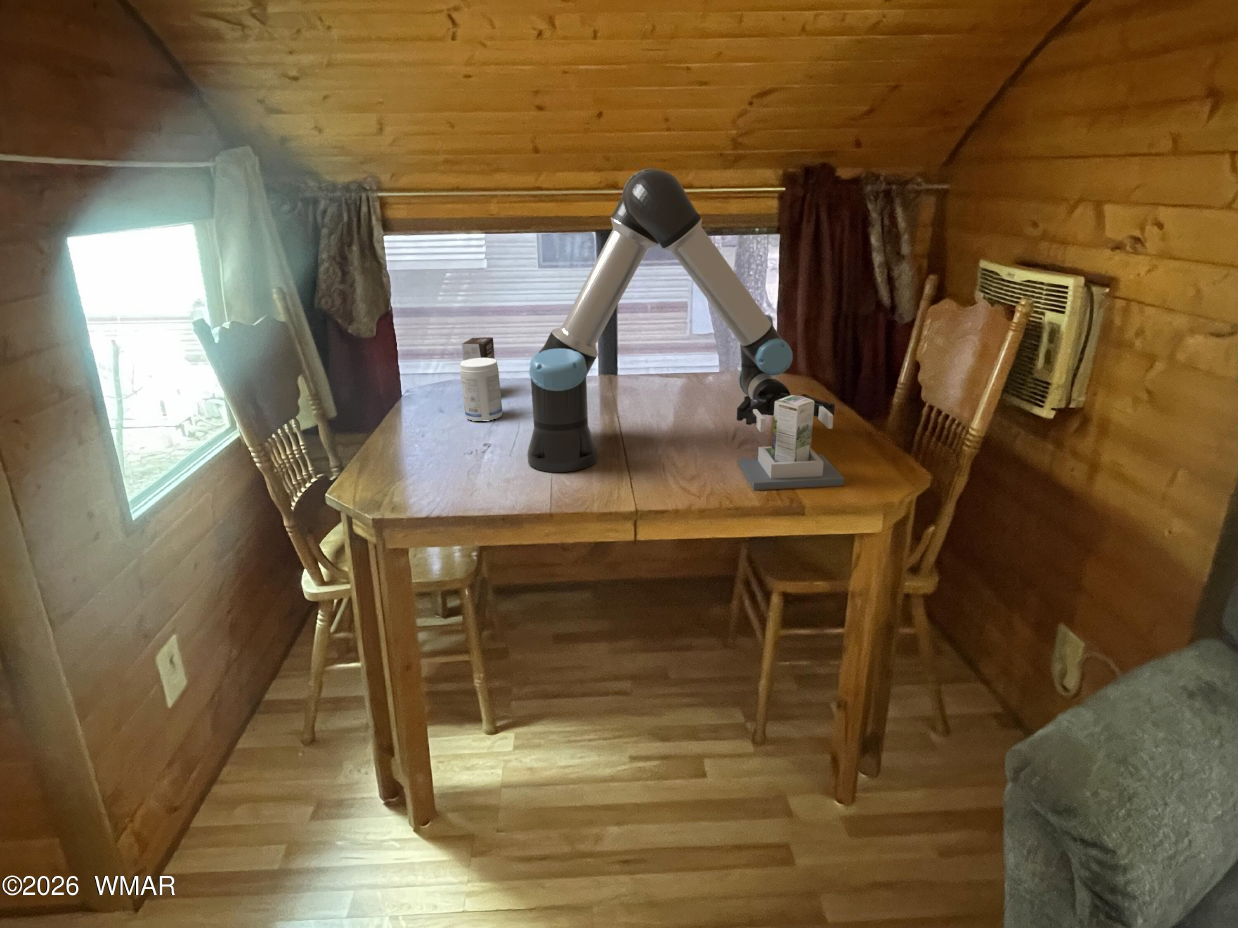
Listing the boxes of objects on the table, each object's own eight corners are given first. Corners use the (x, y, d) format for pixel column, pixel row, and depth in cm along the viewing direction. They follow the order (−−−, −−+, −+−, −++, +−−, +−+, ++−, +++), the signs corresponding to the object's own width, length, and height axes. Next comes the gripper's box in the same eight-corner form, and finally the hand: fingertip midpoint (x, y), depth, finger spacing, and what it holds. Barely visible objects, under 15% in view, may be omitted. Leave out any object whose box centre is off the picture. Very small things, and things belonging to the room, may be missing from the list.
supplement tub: (498, 410, 210) (493, 355, 205) (506, 420, 201) (502, 363, 196) (461, 415, 207) (456, 359, 201) (468, 425, 198) (463, 367, 193)
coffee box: (488, 401, 218) (483, 343, 212) (466, 401, 219) (460, 343, 213) (498, 392, 226) (493, 336, 221) (476, 392, 227) (471, 336, 222)
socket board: (753, 490, 154) (754, 468, 153) (738, 465, 168) (738, 445, 166) (843, 485, 156) (845, 464, 154) (821, 461, 169) (822, 441, 167)
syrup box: (786, 460, 165) (789, 393, 160) (810, 467, 161) (815, 399, 156) (769, 468, 161) (773, 399, 156) (794, 475, 157) (798, 405, 152)
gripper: (823, 408, 176) (857, 438, 156) (712, 413, 175) (733, 444, 155) (825, 375, 174) (860, 402, 154) (713, 380, 172) (734, 408, 152)
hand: (796, 423), depth 154 cm, fingers open, 13 cm apart
